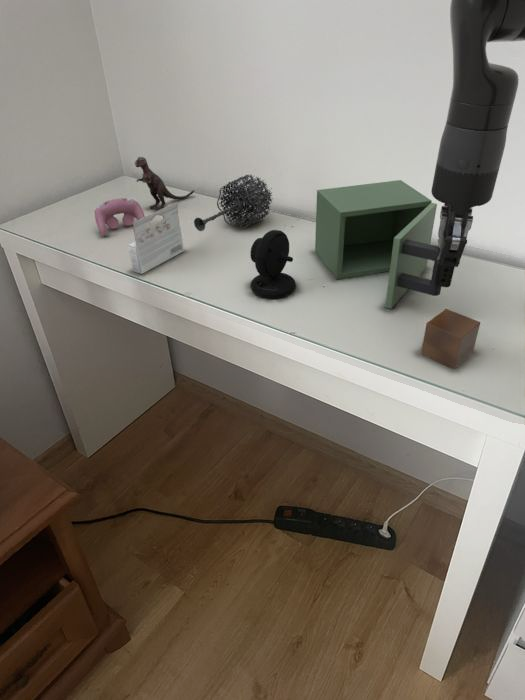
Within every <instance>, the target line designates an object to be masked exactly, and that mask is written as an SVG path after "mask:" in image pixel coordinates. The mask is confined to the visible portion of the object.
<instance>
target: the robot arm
mask: <svg viewBox="0 0 525 700" xmlns="http://www.w3.org/2000/svg"><path fill="white" fill-rule="evenodd" d="M449 19H450V20H449V24H450V25H449V26H450V34H451V45H452V91H451V94H450V100H449V104H448V111H447V115H446V121H445V125H444V128H443V131H442V134H441V138H440V142H439V147H438V152H437V157H436V164H435V169H434V175H433V180H432V185H431V195H432V197H433V198H434V199H435V200H436V201H437V202H440V203H442V204H443V205H441V208H440V213H439V220H440V221H439V227H438V233H437V237H438V239H437V240H438V241H437V246H438V247H439V248H440V254H439V257H438V259H437V260H438V267H437V271H436V276H435V281H434V284H435V286H439V287H441V288H449V287H451V284H452V280H453V276H454V272H455V268H458V267H459V265H460V263H461V259H462V257H463V253H464V250H465V248H466V245H467V244H468V234H469V231H470V230H471V229H472V225H473V222H474V215H473V208H474V207H480V206H483V205H486V204H487V203H489V202H490V201H491V200H492V198H493V194H494V191H495V187H496V182H497V178H498V175H499V172H500V167H501V165H502V161H503V160H502V159H503V156H504V151H505V148H506V142H507V133H508V128H509V123H510V119H511V116H512V111H513V108H514V104H515V100H516V96H517V92H518V88H519V80H520V79H519V74H518V73H517V71H516V70H515V69H513V68H511V67H508V66H505V65H502V64H497V63H491V62H489V60H488V56H487V44H488V43H504V42H505V43H508V42H523V41H525V0H451V1H450V7H449Z"/></svg>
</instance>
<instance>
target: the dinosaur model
mask: <svg viewBox="0 0 525 700" xmlns="http://www.w3.org/2000/svg"><path fill="white" fill-rule="evenodd" d="M134 166H135V167H136V168H141V170H142V177H141V178H137V179H136V183H138V182H142V183H145V184H146V186H147V187H148V189H149V193H150V196H151V197H152V199H154V200H155V203H154V204H153V205H149V209H150V210H154V209H155V210H156V211H155V212H157V211H159V210H161V209H163V208H165V207H166V205H167V203H166V201H165V198H166V199H168V198H169V199H172V200H174V201H176V200H185V199H187V198H189V197H190V196H191V195H193V194H194V192H195V190H192V191H191V192H189V193H187V194H186V195H182V196H179V195H174V194H173V193H172V192H171V191H170V190H168V188H167V187H166V184H165V183H164V182H165V181H163V179H162V178H161V177H160V176H159V175H158V174H157V173H155V172H154V171H153V170H152V169H151V168H150V167H149V164H148V161H147V159H146V157H144V156H138V157H137V158H136V160H134ZM159 205H160V206H159Z"/></svg>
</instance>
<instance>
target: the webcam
mask: <svg viewBox="0 0 525 700" xmlns="http://www.w3.org/2000/svg"><path fill="white" fill-rule="evenodd" d="M289 255H290V241H289V238H288V236H287V234H286V233H285V232H283V230H279V229H271V230H269V231H267V232H266V233H264V235H263V236H262V237H258V238H257V239H255V240H254V241H253V243H252V245H251V248H250V259H251V261H252V262H253V263H254V266H255V269H256V272H257V273H258V275H256V276H255V277H253V279H252V280H251V282H250V289H251V291H252V293H253V294H255V295H256V296H258V297H260V298H263V299H269V300H270V299H274V300H275V299H281V298H284V297H287V296H290V295H291V294H292V293H294V291H295V290H296V287H297V283H296V280H295V278H294V277H293V276H291V275H289V274H287V273H285V272H283V270H284V269H285V267H286V265H287V262H289V263H292V262H293V261H294V257H291V256H289ZM261 284H267V285H270V286H272V287H274V288H275V289H267V288H263V287H262V286H260V285H261Z"/></svg>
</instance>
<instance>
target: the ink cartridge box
mask: <svg viewBox="0 0 525 700" xmlns="http://www.w3.org/2000/svg"><path fill="white" fill-rule="evenodd" d="M156 216H162V219H160V220H158V221H155V222H154V223H151V222H152V221H153V220H154V219H155V217H156ZM132 228H133V235H134V241H133V242H132V243H129V244H128V245H127V248H128V253H129V257H130V258H129V259H130V262H131V267H132V272H134V273H137V274H139V275H143V274H144V273H146V272H149V271H150V270H153V269H154V268H156V267H158V266H159V265H161V264H164V263H165V262H167V261H169V260H171V259H172V258H174V257H177V256H178V255H180V254H181V253H184V251H185V249H184V248H185V247H184V243H183V237H182V230H181V225H180V214H179V205H178V201H175V202H174V203H171V204H169V205H167V206H164V208H163V209H161V210H159V211H155V212H152V213H150V214H147V215H145V217H143V218H141V219H139V220H138V219H136V220H134V222H133V224H132Z"/></svg>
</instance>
